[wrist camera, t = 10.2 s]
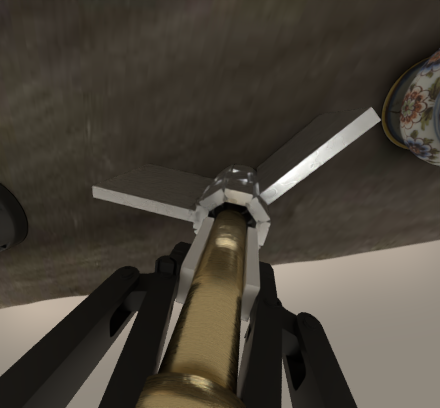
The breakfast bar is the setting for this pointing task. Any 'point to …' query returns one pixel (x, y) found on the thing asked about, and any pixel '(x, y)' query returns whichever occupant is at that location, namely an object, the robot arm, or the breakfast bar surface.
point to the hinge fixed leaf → (187, 195)
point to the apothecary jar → (416, 110)
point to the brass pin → (206, 329)
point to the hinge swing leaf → (304, 153)
